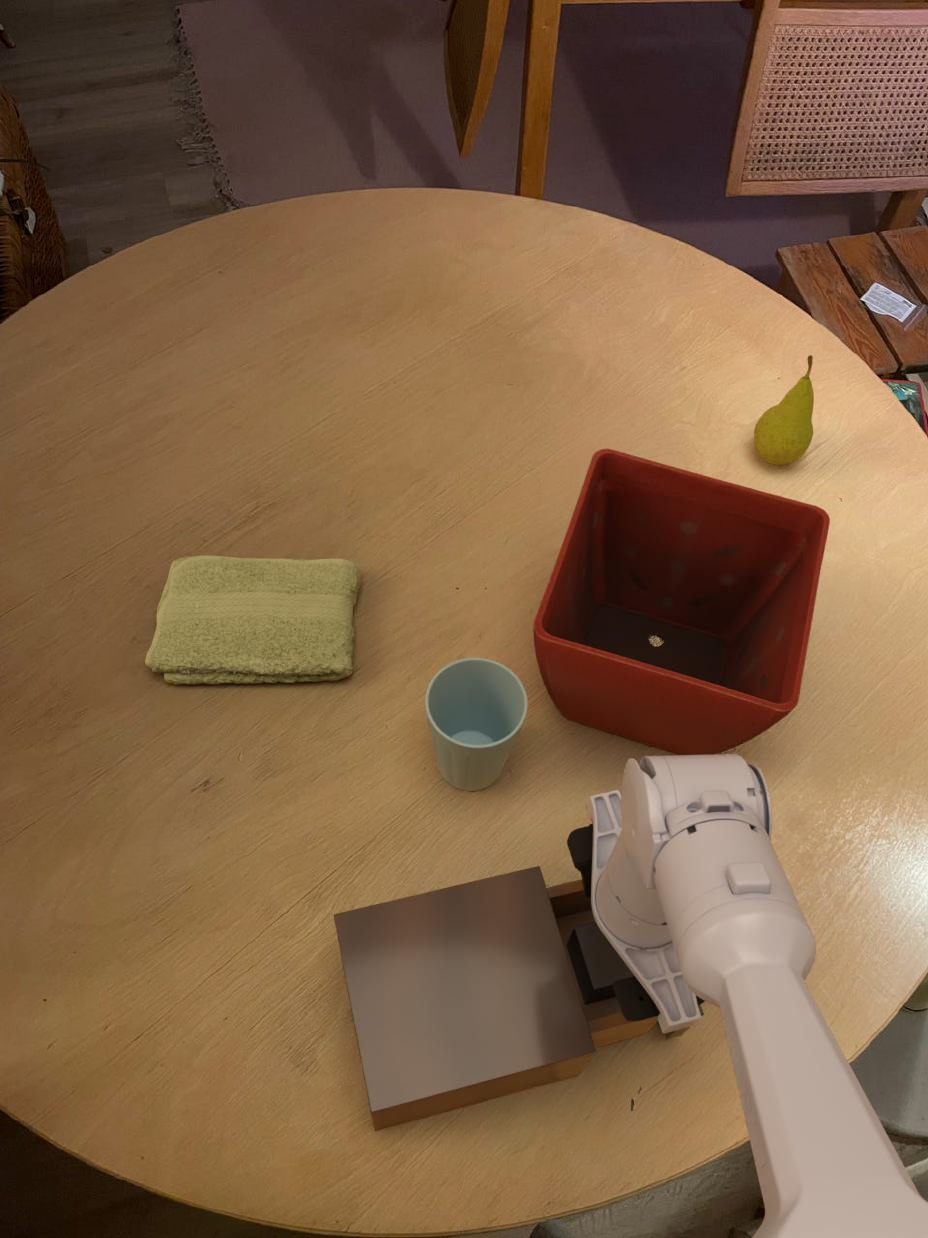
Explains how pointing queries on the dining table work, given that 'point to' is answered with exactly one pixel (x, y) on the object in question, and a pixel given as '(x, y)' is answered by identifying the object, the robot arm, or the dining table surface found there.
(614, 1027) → the drawer
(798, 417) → the fruit
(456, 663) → the cup
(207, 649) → the washcloth
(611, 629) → the flower pot
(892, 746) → the dining table surface
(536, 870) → the cabinet
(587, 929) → the block
